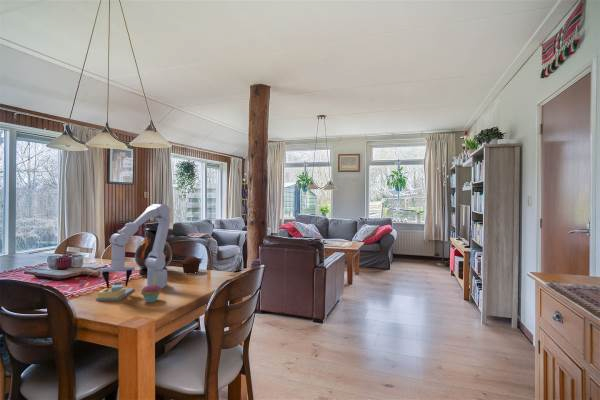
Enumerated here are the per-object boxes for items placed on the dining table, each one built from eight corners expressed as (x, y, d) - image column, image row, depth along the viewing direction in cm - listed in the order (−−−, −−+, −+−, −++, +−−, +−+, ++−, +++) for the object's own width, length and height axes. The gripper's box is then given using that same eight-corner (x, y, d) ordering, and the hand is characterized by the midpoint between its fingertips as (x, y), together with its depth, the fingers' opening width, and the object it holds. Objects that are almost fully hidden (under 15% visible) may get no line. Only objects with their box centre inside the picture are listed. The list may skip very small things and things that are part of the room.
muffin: (180, 271, 205) (181, 255, 205) (198, 269, 211) (198, 254, 211) (183, 275, 195) (183, 259, 195) (201, 273, 200) (202, 257, 200)
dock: (134, 290, 160) (134, 283, 160) (119, 300, 144) (119, 292, 144) (113, 290, 159) (114, 283, 159) (96, 300, 143) (96, 292, 143)
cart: (112, 291, 154) (112, 282, 154) (122, 290, 156) (122, 281, 156) (111, 294, 149) (111, 285, 149) (122, 293, 151) (122, 284, 151)
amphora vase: (137, 269, 207) (139, 226, 207) (173, 268, 213) (174, 226, 213) (130, 277, 186) (132, 229, 186) (170, 275, 192) (171, 229, 192)
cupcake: (155, 296, 152) (156, 271, 152) (164, 300, 146) (165, 274, 146) (137, 300, 145) (138, 274, 145) (146, 305, 140) (146, 277, 140)
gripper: (135, 256, 159) (134, 283, 159) (101, 257, 152) (100, 285, 152) (135, 258, 153) (134, 286, 153) (99, 260, 146) (98, 289, 146)
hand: (117, 286), depth 152 cm, fingers open, 7 cm apart
